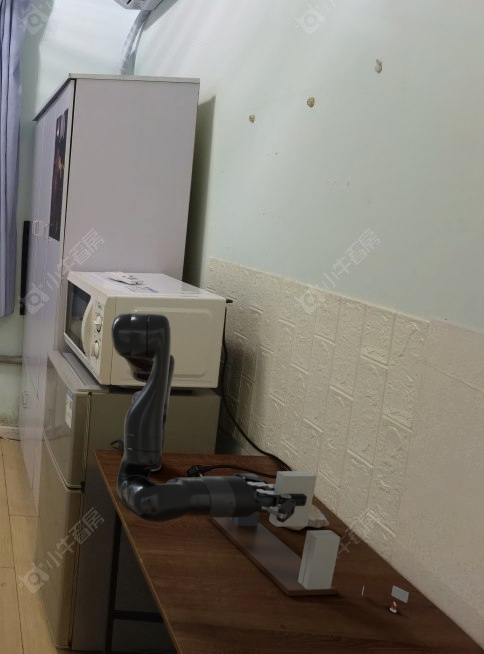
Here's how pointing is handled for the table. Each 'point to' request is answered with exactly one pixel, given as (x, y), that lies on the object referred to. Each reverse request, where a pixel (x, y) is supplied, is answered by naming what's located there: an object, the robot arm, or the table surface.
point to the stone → (313, 519)
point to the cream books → (318, 559)
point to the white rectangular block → (295, 485)
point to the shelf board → (269, 556)
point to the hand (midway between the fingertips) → (299, 495)
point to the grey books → (247, 521)
